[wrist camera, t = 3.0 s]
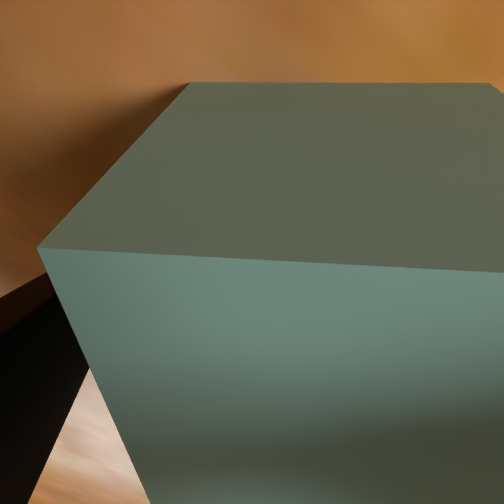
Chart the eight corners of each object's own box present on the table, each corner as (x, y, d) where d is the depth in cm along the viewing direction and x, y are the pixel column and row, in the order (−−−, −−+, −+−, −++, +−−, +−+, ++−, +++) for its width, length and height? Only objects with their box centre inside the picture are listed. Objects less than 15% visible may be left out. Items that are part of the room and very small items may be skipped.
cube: (418, 301, 11) (493, 550, 7) (214, 288, 12) (152, 506, 7) (487, 82, 8) (763, 285, 3) (190, 81, 8) (35, 247, 4)
